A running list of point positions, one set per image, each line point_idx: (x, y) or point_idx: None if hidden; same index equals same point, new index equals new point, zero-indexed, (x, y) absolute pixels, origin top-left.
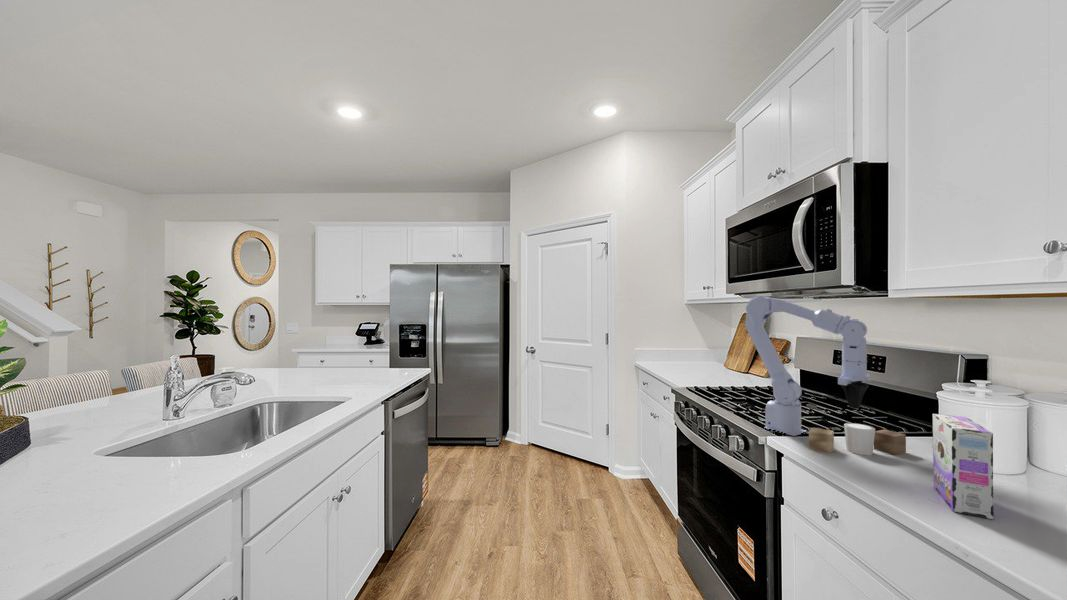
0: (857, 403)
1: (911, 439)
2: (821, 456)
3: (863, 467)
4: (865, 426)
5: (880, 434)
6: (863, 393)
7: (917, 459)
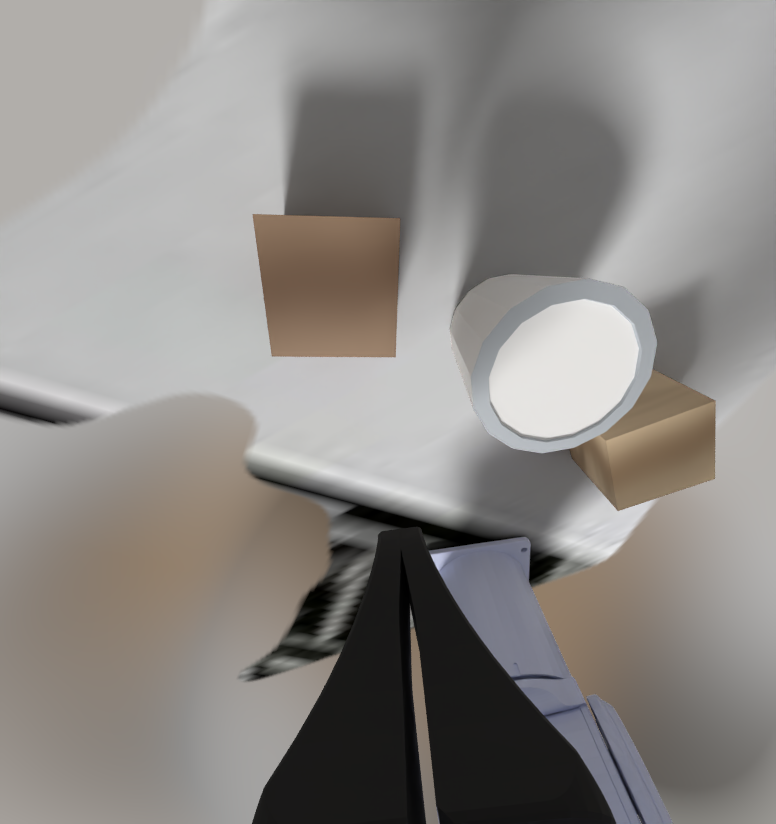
0: (433, 562)
1: (6, 347)
2: (726, 351)
3: (770, 165)
4: (521, 361)
5: (394, 313)
6: (358, 667)
7: (351, 104)
